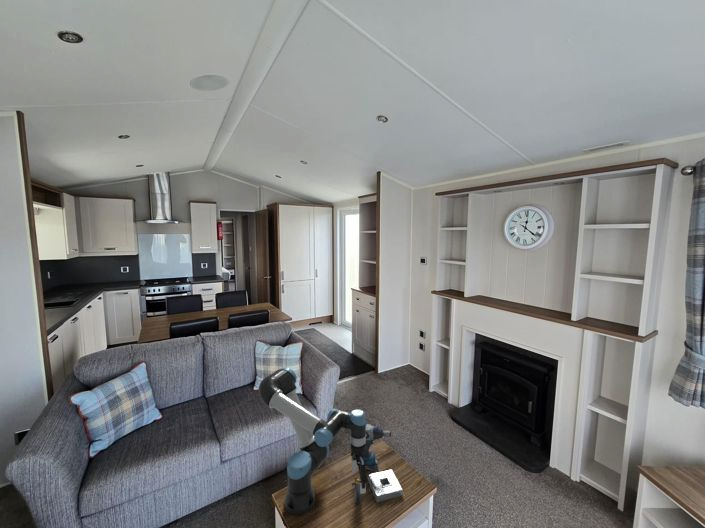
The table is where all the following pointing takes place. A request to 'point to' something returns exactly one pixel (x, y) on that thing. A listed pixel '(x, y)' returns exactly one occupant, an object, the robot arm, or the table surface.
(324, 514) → the table surface
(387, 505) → the table surface
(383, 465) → the table surface
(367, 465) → the impact wrench
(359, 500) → the flashlight
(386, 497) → the socket block
